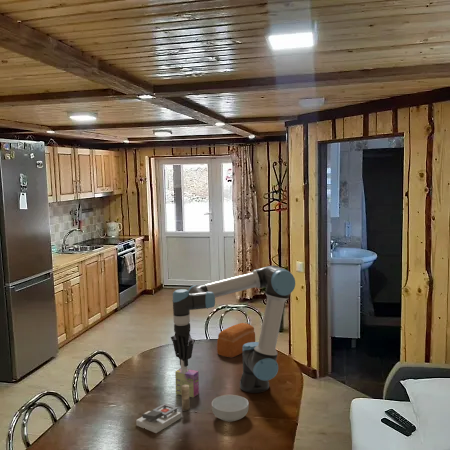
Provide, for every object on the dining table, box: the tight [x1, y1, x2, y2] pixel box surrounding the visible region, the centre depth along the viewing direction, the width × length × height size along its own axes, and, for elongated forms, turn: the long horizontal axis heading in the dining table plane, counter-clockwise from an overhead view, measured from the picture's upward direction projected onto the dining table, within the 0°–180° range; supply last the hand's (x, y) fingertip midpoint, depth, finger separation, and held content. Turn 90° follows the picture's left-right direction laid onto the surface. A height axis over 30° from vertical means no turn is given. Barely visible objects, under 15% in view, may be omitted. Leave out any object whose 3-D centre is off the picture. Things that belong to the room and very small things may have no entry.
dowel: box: [181, 385, 191, 411], centre depth 226 cm, size 4×4×11 cm
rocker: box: [141, 410, 163, 420], centre depth 212 cm, size 8×4×2 cm, turn 54°
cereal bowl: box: [211, 394, 250, 422], centre depth 217 cm, size 17×17×7 cm
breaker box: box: [136, 403, 182, 434], centre depth 215 cm, size 12×16×4 cm
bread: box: [216, 322, 256, 358], centre depth 303 cm, size 14×26×16 cm, turn 143°
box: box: [174, 367, 200, 398], centre depth 242 cm, size 10×6×12 cm, turn 65°
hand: (184, 372), depth 225 cm, fingers closed
